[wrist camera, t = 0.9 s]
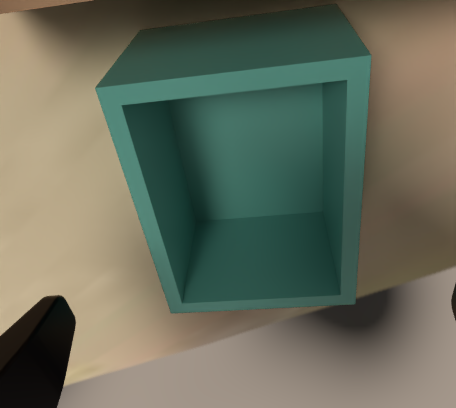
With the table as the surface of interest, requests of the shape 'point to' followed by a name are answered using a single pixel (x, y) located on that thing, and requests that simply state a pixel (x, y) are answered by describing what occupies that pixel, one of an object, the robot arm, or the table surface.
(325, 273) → the teal crate
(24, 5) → the box
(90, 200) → the table surface
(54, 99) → the table surface
